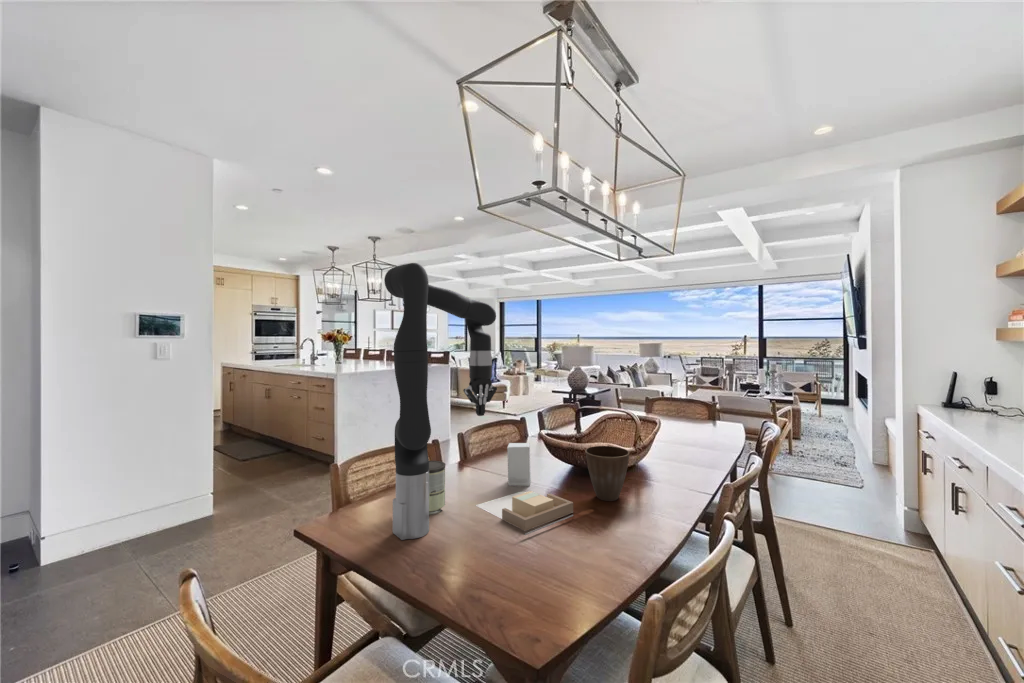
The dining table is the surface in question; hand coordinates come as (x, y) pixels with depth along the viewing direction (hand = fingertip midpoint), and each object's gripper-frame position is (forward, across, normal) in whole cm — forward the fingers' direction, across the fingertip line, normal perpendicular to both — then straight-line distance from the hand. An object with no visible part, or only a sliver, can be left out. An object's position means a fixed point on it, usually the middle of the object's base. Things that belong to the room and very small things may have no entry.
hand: (480, 415), depth 140 cm
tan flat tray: (+29, +5, -16) cm, 33 cm away
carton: (+28, +5, -20) cm, 35 cm away
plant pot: (+29, +36, -25) cm, 53 cm away
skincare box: (+29, +20, +3) cm, 36 cm away
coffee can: (+29, -16, +6) cm, 34 cm away
